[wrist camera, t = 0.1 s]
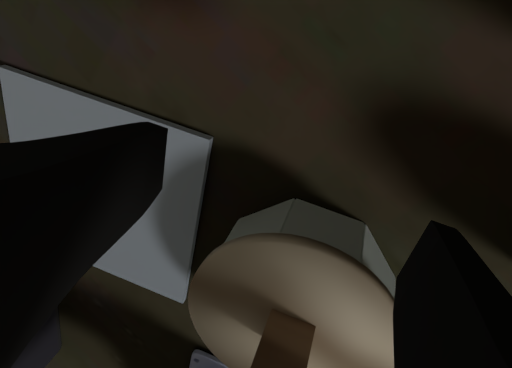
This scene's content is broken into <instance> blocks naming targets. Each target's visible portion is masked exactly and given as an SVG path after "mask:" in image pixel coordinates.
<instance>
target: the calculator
mask: <svg viewBox="0 0 512 368" xmlns="http://www.w3.org/2000/svg"><path fill="white" fill-rule="evenodd" d="M60 348H61V335H60V325H59V314H58V306H57V307H56V308H55V310H54V311H53V312H52V313H51V315H50V316H49V317H48V319H47V320H46V321H45V323H44V324H43V325H42V326H41V328H40V329H39V330H38V332H37V333H36V334H35V335H34V337H33V338H32V339H31V341H30V342H29V343H28V345H27V346H26V347H25V349H24V350H23V352H22V353H21V354H20V356H19V357H18V358H17V360H16V361H15V363H14V364H13V365H12V367H11V368H44V367H45V366H46V365H47V364H48V363H49V362H50V360H51V359H52V358H53V357H54V356H55V355H56V354H57V352H58V351H59V350H60Z"/></svg>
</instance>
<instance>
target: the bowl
mask: <svg viewBox="0 0 512 368" xmlns="http://www.w3.org/2000/svg"><path fill="white" fill-rule="evenodd" d="M257 233H284V234H293V235H298V236H303V237H307V238H311V239H314V240H317V241H320V242H323V243H326V244H328V245H330V246H333V247H335V248H337V249H339V250H341V251H343V252H345V253H346V254H348V255H350V256H352V257H353V258H355V259H356V260H358V261H359V262H360V263H362V264H363V265H365V266H366V267H367V268H368V269H369V270H371V271H372V272H373V273H374V274H375V275H376V276H377V277H378V278H379V279H380V280H381V281H382V282H383V284H384V285H385V286H386V287H387V288H388V290H389V291H390V293H391V294H392V296H393V297H394V296H395V276H394V274H393V272H392V271H391V269H390V267H389V265H388V263H387V262H386V260H385V258H384V256H383V254H382V252H381V251H380V249H379V247H378V245H377V243H376V241H375V240H374V238H373V236H372V234H371V232H370V231H369V229H368V227H367V225H366V224H365V225H364V222H361V221H358V220H355V219H353V218H350V217H347V216H344V215H341V214H339V213H336V212H333V211H330V210H328V209H325V208H322V207H319V206H316V205H314V204H311V203H308V202H305V201H303V200H300V199H297V198H296V200H295V199H294V198H293V199H290V200H288V201H285V202H282V203H280V204H277V205H274V206H272V207H269V208H266V209H264V210H261V211H259V212H256V213H253V214H251V215H248V216H245V217H243V218H240V219H239V220H238V221H237V222H236V224H235V226H234V227H233V229H232V231H231V232H230V234H229V236H228V237H227V239H226V240H225V242H228V241H230V240H232V239H235V238H238V237H241V236H245V235H250V234H257ZM225 242H224V243H225Z"/></svg>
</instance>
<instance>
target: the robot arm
mask: <svg viewBox="0 0 512 368" xmlns="http://www.w3.org/2000/svg"><path fill="white" fill-rule="evenodd" d="M167 134H168V128H165V127H162V126H160V125H157V124H154V123H151V122H137V123H130V124H124V125H118V126H113V127H108V128H102V129H97V130H92V131H86V132H81V133H75V134H69V135H63V136H56V137H50V138H43V139H37V140H29V141H20V142H11V143H0V368H11V367H12V365H13V364H14V363H15V361H16V360H17V358H18V357H19V356H20V354H21V353H22V352H23V350H24V349H25V347H26V346H27V345H28V343H29V342H30V341H31V339H32V338H33V337H34V335H35V334H36V333H37V332H38V330H39V329H40V328H41V326H42V325H43V324H44V323H45V321H46V320H47V319H48V317H49V316H50V315H51V313H52V312H53V311H54V310H55V308H56V307H57V306H58V305H59V304H60V302H61V301H62V300H63V299H64V297H65V296H66V295H67V294H68V292H69V291H70V290H71V289H72V288H73V286H74V285H75V284H76V283H77V282H78V280H79V279H80V278H81V277H82V276H83V275H84V274H85V273H86V272H87V271H88V270H89V269H90V268H91V267H92V266H93V265H94V264H95V263H96V262H97V261H98V260H99V259H100V258H101V257H102V256H103V255H104V254H105V253H106V252H107V251H108V250H109V249H110V248H111V247H112V246H113V245H114V244H115V243H116V242H117V241H118V240H119V239H120V238H121V237H122V236H123V235H124V234H125V233H126V232H127V231H128V230H129V229H130V228H131V227H132V226H133V225H134V224H135V223H136V222H137V221H138V220H139V219H140V218H141V217H142V216H143V215H144V213H145V212H146V211H147V209H148V208H149V207H150V206H151V204H152V203H153V202H154V200H155V199H156V197H157V196H158V195H159V193H160V192H161V190H162V186H163V176H164V165H165V155H166V145H167ZM393 344H394V368H512V296H511V295H510V294H509V293H508V291H507V290H506V289H505V288H504V287H503V285H502V284H501V283H500V282H499V280H498V279H497V278H496V277H495V275H494V274H493V273H492V272H491V270H490V269H489V268H488V267H487V265H486V264H485V263H484V262H483V260H482V259H481V258H480V256H479V255H478V254H477V253H476V251H475V250H474V249H473V248H472V246H471V245H470V244H469V243H468V242H467V240H466V239H465V238H464V237H463V236H462V235H461V233H460V232H459V231H458V230H457V229H455V228H452V227H449V226H446V225H444V224H441V223H438V222H435V221H432V220H431V221H430V223H429V224H428V226H427V228H426V229H425V231H424V233H423V234H422V236H421V238H420V239H419V241H418V243H417V245H416V246H415V248H414V250H413V251H412V253H411V255H410V256H409V258H408V260H407V261H406V263H405V265H404V266H403V268H402V270H401V271H400V273H399V275H398V276H397V281H396V288H395V296H394V305H393ZM189 368H228V367H227V366H226V365H224V364H223V363H222V362H221V361H220V360H219V359H218V358H217V357H215V356H213V355H210V354H208V353H206V352H204V351H201V350H198V349H196V350H194V351H193V353H192V356H191V361H190V366H189Z"/></svg>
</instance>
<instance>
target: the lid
mask: <svg viewBox="0 0 512 368" xmlns="http://www.w3.org/2000/svg"><path fill="white" fill-rule="evenodd" d="M393 305H394V297H393V296H392V294H391V293H390V291H389V290H388V288H387V287H386V286H385V285H384V284H383V282H382V281H381V280H380V279H379V278H378V277H377V276H376V275H375V274H374V273H373V272H372V271H371V270H369V269H368V268H367V267H366V266H365V265H363V264H362V263H360V262H359V261H358V260H356V259H355V258H353V257H352V256H350V255H348V254H346V253H345V252H343V251H341V250H339V249H337V248H335V247H333V246H330V245H328V244H326V243H323V242H320V241H317V240H314V239H311V238H307V237H303V236H298V235H293V234H284V233H257V234H250V235H245V236H241V237H238V238H235V239H232V240H230V241H228V242H225V243H223V244H222V245H220V246H219V247H217V248H216V249H214V250H213V251H212V252H211V253H210V254H209V255H208V256H207V257H206V258H205V260H204V261H203V262H202V264H201V265H200V267H199V268H198V270H197V271H196V273H195V275H194V277H193V279H192V281H191V284H190V288H189V293H188V306H189V312H190V316H191V319H192V322H193V324H194V327H195V329H196V331H197V333H198V334H199V336H200V338H201V339H202V341H203V342H204V343H205V345H206V346H207V347H208V349H209V350H210V351H211V352H212V353H213V354H214V355H215V356H216V357H217V358H218V359H219V360H220V361H221V362H222V363H223V364H224V365H226V366H227V367H228V368H394V344H393Z"/></svg>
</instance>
